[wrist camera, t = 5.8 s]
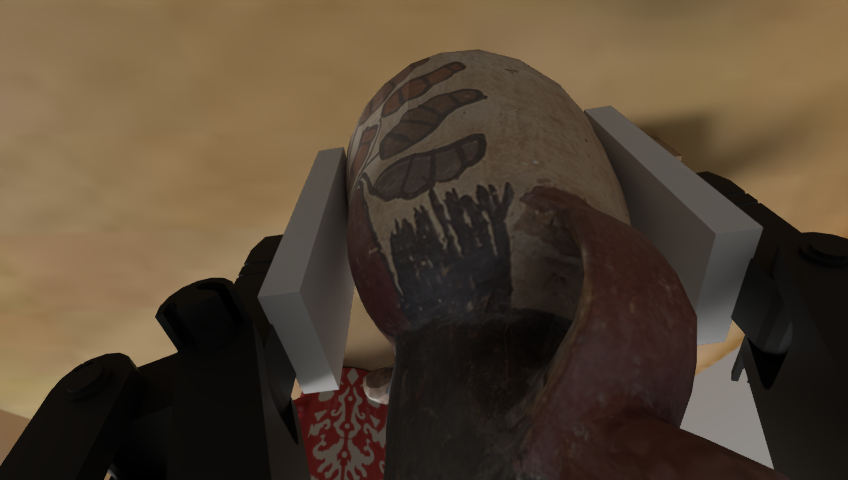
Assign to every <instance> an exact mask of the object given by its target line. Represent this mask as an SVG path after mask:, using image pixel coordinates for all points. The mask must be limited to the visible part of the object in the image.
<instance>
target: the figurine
mask: <svg viewBox="0 0 848 480" xmlns="http://www.w3.org/2000/svg"><path fill="white" fill-rule="evenodd" d="M345 196H346V203H347V209H348V226H347V236H346V238H347V251H348V260H349V265H350V269H351V274H352V277H353V280H354V283H355V285H356V288H357V291H358V293H359V296H360V299H361V301H362V303H363V305H364V307H365V309H366V311H367V313H368V314H369V316H370V317H371V319H372V320H373V322H374V323H375V325H376V326H377V327H378V329H379V330H380V331H381V332H382V334H383V335H384V336H385V337H386V338H387V339H388V340H389V342H390V344H391V346H392V349H393V352H394V355H395V362H394V364H393V365H392V366H389V367H385V368H380V369H376V370H374V371H372V372H370V373H368V374H367V375H366V376H365V377H364V378H363V388H364V391H365V393H366V395H367V396H368V397H369V399H371V400H373V401H376V402H378V403H382V404H388V410H387V421H386V451H385V467H384V477H383V480H791V479H789V478H788V477H787V476H786V475H784V474H782V473H780V472H778V471H776V470H773V469H771V468H769V467H767V466H765V465H762V464H760V463H758V462H756V461H754V460H751V459H749V458H747V457H745V456H742V455H740V454H738V453H736V452H734V451H732V450H729V449H727V448H725V447H723V446H721V445H718V444H716V443H714V442H712V441H710V440H707V439H705V438H703V437H700V436H697V435H695V434H693V433H690V432H688V431H685V430H683V429H680V425H681V422H682V419H683V416H684V414H685V410H686V408H687V405H688V402H689V399H690V396H691V393H692V388H693V381H694V376H695V370H696V364H697V315H696V313H695V311H694V309H693V306H692V304H691V302H690V300H689V298H688V296H687V294H686V292H685V289H684V287H683V285H682V283H681V281H680V279H679V277H678V275H677V273H676V272H675V270H674V269H673V268H672V266H671V265H670V264H669V262H668V261H667V260H666V258H665V257H664V256H663V254H662V253H661V252H660V251H659V249H658V248H657V247H656V246H655V245H654V244H653V243H652V242H651V241H650V240H649V239H648V237H647V236H646V235H645V234H644V233H643V232H641V231H639V230H637V229H635V228H633V227H632V226H631V222H630V217H629V212H628V208H627V205H626V201H625V198H624V194H623V191H622V188H621V185H620V183H619V181H618V178H617V176H616V174H615V172H614V170H613V167H612V165H611V163H610V161H609V159H608V157H607V154H606V152H605V150H604V148H603V146H602V144H601V142H600V141H599V139H598V137H597V136H596V134H595V132H594V130H593V128H592V125H591V123H590V121H589V119H588V118H587V116H586V115H585V114H584V112H583V111H582V110H581V109H580V107H579V106H578V105H577V104H576V103H575V102H574V101H573V99H572V98H571V97H570V96H569V95H568V94H567V93H566V91H565V90H564V89H563V88H562V87H561V86H560V85H559V84H558V83H556V82H555V81H553V80H551V79H550V78H548V77H547V76H545V75H543V74H542V73H540V72H538V71H537V70H535V69H534V68H532V67H530V66H529V65H527V64H526V63H524V62H522V61H521V60H518V59H514V58H510V57H506V56H502V55H498V54H495V53H491V52H487V51H483V50H479V49H478V50H467V51H456V52H446V53H439V54H436V55H434V56H431V57H428V58H425V59H423V60H420V61H417V62H415V63H412V64H410V65H409V66H408V67H406V68H405V69H404V70H402V71H401V72H400V73H398V74H397V75H396V76H395V77H393V78H392V79H391V80H389V81H388V82H387V83H385V84H384V85H383V87H382V88H381V89H380V90H379V91H378V92H377V93H376V95H375V96H374V97H373V98H372V99H371V100H370V101H369V103H368V104H367V105H366V107H365V109H364V110H363V112H362V114H361V116H360V118H359V120H358V122H357V124H356V127H355V130H354V133H353V134H352V136H351V139H350V143H349V147H348V151H347V160H346V170H345Z"/></svg>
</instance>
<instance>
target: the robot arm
mask: <svg viewBox="0 0 848 480" xmlns="http://www.w3.org/2000/svg"><path fill="white" fill-rule="evenodd" d="M584 114H585V115H586V116H587V118H588V119H589V121H590V123H591V125H592V128H593V130H594V132H595V134H596V136H597V137H598V139H599V141H600V142H601V144H602V146H603V148H604V150H605V152H606V154H607V157H608V159H609V161H610V163H611V165H612V167H613V170H614V172H615V174H616V176H617V178H618V181H619V183H620V185H621V188H622V191H623V194H624V198H625V201H626V205H627V208H628V212H629V217H630V222H631V226H632V227H633V228H635V229H637V230H639V231H641V232H643V233H644V234H645V235H646V236H647V237H648V239H649V240H650V241H651V242H652V243H653V244H654V245H655V246H656V247H657V248H658V249H659V251H660V252H661V253H662V254H663V256H664V257H665V258H666V260H667V261H668V262H669V264H670V265H671V266H672V268H673V269H674V270H675V272H676V273H677V275H678V277H679V279H680V281H681V283H682V285H683V287H684V289H685V292H686V294H687V296H688V298H689V300H690V302H691V304H692V306H693V309H694V311H695V313H696V315H697V345H702V344H710V343H718V342H725V340H726V337H727V334H728V331H729V328H730V325H731V322H732V320H733V321H734V322H735V323H736V324H737V325H738V327H739V328H740V329H741V330H742V331H743V332H744V333H745V336H744V339H743V342H742V345H741V348H740V351H739V353H738V355H737V358H736V361H735V363H734V366H733V369H732V373H731V374H732V375H731V380H732V381H738V380H739V377H740V375H741V372H742V369H744V368H745V370H746V374H747V377H748V381H747V382H748V383H749V384H750V387H751V391H752V394H753V398H754V401H755V405H756V408H757V412H758V415H759V419H760V422H761V425H762V429H763V432H764V435H765V439H766V443H767V445H768V449H769V453H770V456H771V460H772V463H773V467H774V470H776V471H778V472H780V473H782V474H784V475H786V476H787V477H788V478H789V479H791V480H848V239H847V238H843V237H840V236H836V235H832V234H825V233H817V232H805V233H801V232H800V231H798V230H797V229H796V228H794V227H793V226H791V225H790V224H789V223H787V222H786V221H785V220H783V219H782V218H781V217H779V216H778V215H777V214H775V213H774V212H772V211H771V210H770V209H768V208H767V207H766V206H764V205H763V204H762V203H758V200H756V199H755V198H753V197H752V196H751V195H749V194H745V191H744V190H743V189H741V188H740V187H738V186H737V185H736V184H734V183H733V182H732V181H730V180H728V179H726V178H723V177H721V176H718V175H715V174H713V173H710V172H700V173H694V172H693V171H692V170H691V169H689V168H688V167H687V166H686V165H684V164H683V163H682V162H681V161H679V160H678V159H677V158H676V157H674V156H673V155H672V154H671V153H669V152H668V151H667V150H666V149H664V148H663V147H662V146H661V145H659V144H658V143H657V142H656V141H654V140H653V139H652V138H651V137H649V136H648V135H647V134H646V133H644V132H643V131H642V130H641V129H639V128H638V127H637V126H636V125H634V124H633V123H632V122H631V121H629V120H628V119H627V118H626V117H624V116H623V115H622V114H621V113H619V112H618V111H617V110H616V109H614V108H613V107H612V106H605V107H598V108H592V109H586V110H584ZM346 160H347V158H346V154H345V150H344V147H341V148H335V149H328V150H322V151H319V152H318V154H317V157H316V159H315V161H314V164H313V166H312V168H311V171H310V173H309V176H308V178H307V180H306V183H305V185H304V187H303V190H302V192H301V195H300V197H299V199H298V202H297V204H296V206H295V209H294V211H293V214H292V216H291V218H290V221H289V223H288V225H287V228H286V230H285V233H284V234H283V235H276V236H269V237H265V238H264V239H263V240H262V241H260V242H259V243H258V244H257V245H256V246H255V247H254V248H253V249H252V250H251V251H250V253H249V255H248V257H247V259H246V261H245V263H244V265H245V266H244V267H242V269H241V271H240V273H239V275H238V276H239V278H237V279H236V281H235V283H234V284H233V282H232V281H230V280H228V279H225V278H208V279H204V280H200V281H196V282H194V283H192V284H190V285H187V286H185V287H183V288H181V289H180V290H178V291H177V292H175V293H174V294H172V295H171V296H169V298H168V299H167V300H166V301H165V302H164V303H163V304H162V305H161V306H160V307H159V309H158V311H157V314H156V316H155V318H156V319H157V320H158V322H159V323H160V325H161V326H162V328H163V329H164V331H165V332H166V334H167V335H168V337H169V338H170V340H171V341H172V343H173V344H174V346H175V347H176V349H177V350H178V352H177V353H175V354H173V355H170V356H168V357H165V358H162V359H159V360H157V361H154V362H151V363H148V364H146V365H143V366H140V367H136V365H135V364H134V363H133V361H132V360H131V359H130V358H129V356H127V355H124V354H121V353H111V354H105V355H102V356H99V357H96V358H93V359H90V360H88V361H86V362H84V363H83V364H81V365H79V366H77V367H76V368H74V369H73V370H72V371H71V372H69V373H68V374H67V375H66V376H64V377H63V378H62V379H61V380H60V381H59V382H58V383H57V384H56V385H55V387H54V388H53V389H52V390H51V391H50V392H49V394H48V395H47V397H46V398H45V400H44V401H43V403H42V404H41V406H40V407H39V409H38V410H37V412H36V413H35V415H34V416H33V418H32V419H31V421H30V423H29V424H28V426H27V427H26V428H25V430H24V431H23V433H22V434H21V436H20V437H19V439H18V440H17V442H16V443H15V445H14V446H13V448H12V449H11V451H10V452H9V454H8V455H7V457H6V458H5V460H4V461H3V463H2V465H1V466H0V480H104V478H105V476H106V474H107V472H108V473H109V474H110V475H111V477H110V479H109V480H311V477H310V472H309V467H308V461H307V456H306V451H305V446H304V441H303V436H302V431H301V426H300V421H299V416H298V410H297V408H296V406H295V404H294V402H293V400H292V398H291V393H292V389H293V385H294V382H295V378H296V379H297V381H298V383H299V385H300V387H301V389H302V391H303V393H304V394H307V393H315V392H323V391H331V390H339V386H340V380H341V373H342V366H343V360H344V353H345V347H346V340H347V333H348V327H349V320H350V314H351V307H352V300H353V294H354V287H355V283H354V280H353V277H352V274H351V269H350V265H349V260H348V251H347V238H346V236H347V226H348V209H347V203H346V196H345V170H346Z"/></svg>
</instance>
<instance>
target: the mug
mask: <svg viewBox="0 0 848 480" xmlns="http://www.w3.org/2000/svg"><path fill="white" fill-rule="evenodd" d="M368 373H370V372H368V371H365V370H360V369H355V368H342V373H341V380H340V386H339V390H331V391H323V392H315V393H307V394H304V393H303V391H302V393H301V396H300V398H298V399H296V400H293V402H294V404H295V406H296V408H297V410H298V416H299V421H300V426H301V431H302V436H303V441H304V446H305V451H306V456H307V461H308V467H309V472H310V477H311V480H383V477H384V467H385V451H386V421H387V410H388V404H382V403H378V402H376V401H373V400H371V399H369V397H368V396H367V395H366V393H365V391H364V388H363V378H364V377H365V376H366V375H367V374H368Z"/></svg>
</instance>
